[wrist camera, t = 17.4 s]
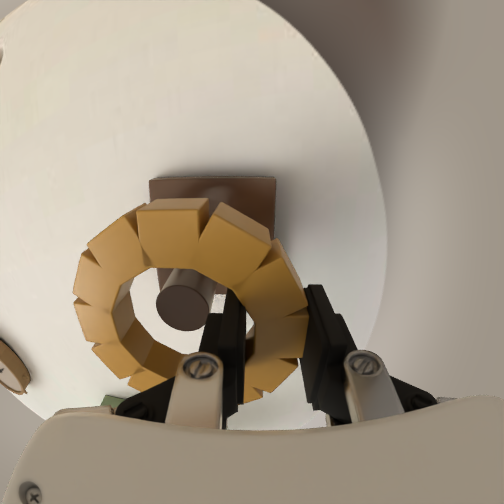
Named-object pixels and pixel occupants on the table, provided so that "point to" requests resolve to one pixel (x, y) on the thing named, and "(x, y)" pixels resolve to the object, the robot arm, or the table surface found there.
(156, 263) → the brass ring
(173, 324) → the peg stand
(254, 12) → the table surface
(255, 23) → the table surface
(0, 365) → the alarm clock
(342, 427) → the robot arm
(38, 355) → the table surface
